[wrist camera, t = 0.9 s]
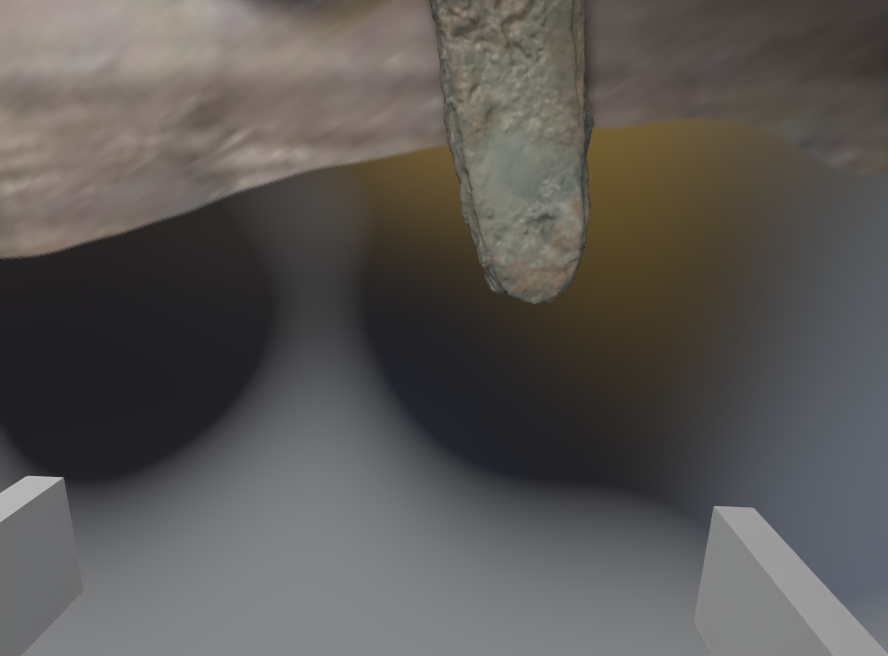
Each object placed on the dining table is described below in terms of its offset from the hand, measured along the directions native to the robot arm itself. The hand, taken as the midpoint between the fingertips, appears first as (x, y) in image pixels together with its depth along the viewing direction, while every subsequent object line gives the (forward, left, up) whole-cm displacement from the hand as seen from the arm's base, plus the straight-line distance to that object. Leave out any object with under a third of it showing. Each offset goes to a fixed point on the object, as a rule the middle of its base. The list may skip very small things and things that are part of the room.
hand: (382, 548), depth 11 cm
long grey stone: (-18, +3, -27) cm, 32 cm away
